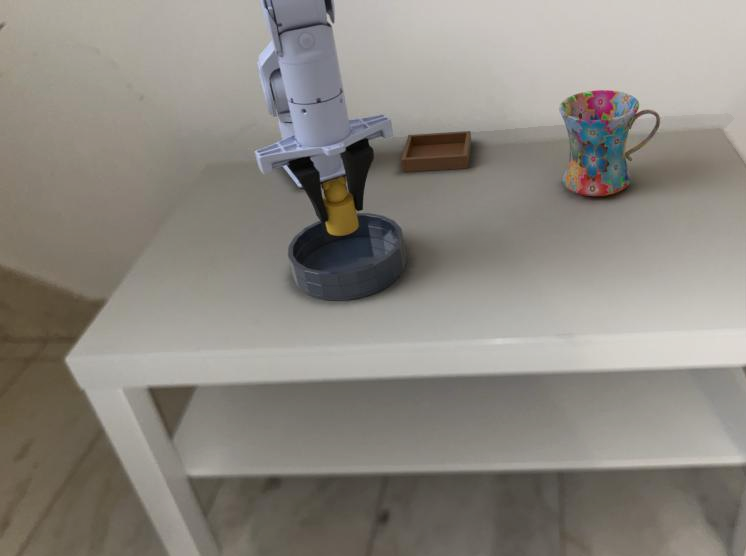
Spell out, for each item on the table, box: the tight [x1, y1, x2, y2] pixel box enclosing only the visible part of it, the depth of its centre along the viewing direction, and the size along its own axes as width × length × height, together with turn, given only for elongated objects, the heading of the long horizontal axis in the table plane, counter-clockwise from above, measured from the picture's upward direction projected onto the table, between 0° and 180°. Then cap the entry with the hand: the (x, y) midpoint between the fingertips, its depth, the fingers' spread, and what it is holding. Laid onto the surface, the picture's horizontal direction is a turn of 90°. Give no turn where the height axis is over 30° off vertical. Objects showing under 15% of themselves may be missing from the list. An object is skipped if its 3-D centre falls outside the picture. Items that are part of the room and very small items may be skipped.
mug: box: [558, 89, 661, 197], centre depth 95 cm, size 12×9×11 cm
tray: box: [400, 130, 472, 173], centre depth 109 cm, size 9×8×2 cm
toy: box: [321, 176, 359, 236], centre depth 85 cm, size 4×4×6 cm
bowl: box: [287, 212, 407, 302], centre depth 88 cm, size 13×13×4 cm
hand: (339, 212), depth 85 cm, fingers closed on toy, 3 cm apart
